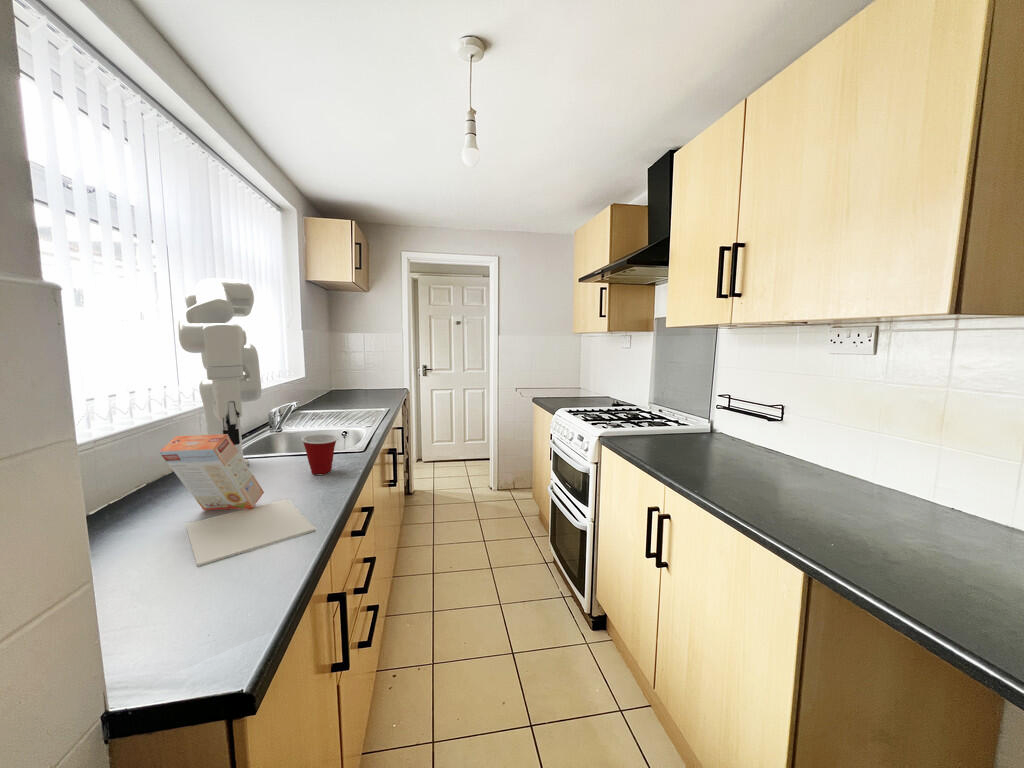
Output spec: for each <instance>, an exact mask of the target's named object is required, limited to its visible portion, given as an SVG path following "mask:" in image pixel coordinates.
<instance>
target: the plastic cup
mask: <svg viewBox="0 0 1024 768" xmlns="http://www.w3.org/2000/svg"><path fill="white" fill-rule="evenodd" d="M338 437H339V436H337V435H334V434H329V433H323V434H322V433H319V434H318V433H317V434H310V435H309V434H308V435H306V436H303V437H301V441H302V443H303V446H304V449H305V452H306V458H307V461H308V464H309V467H310V472H311V474H312V475H313V474H324V475H326V474H325V473H328V472H330V471H332V468H333V462H334V455H335V454H334V453H335V447H336V443H337V441H338V439H339V438H338ZM330 473H331V472H330ZM328 474H329V473H328Z"/></svg>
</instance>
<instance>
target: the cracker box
mask: <svg viewBox="0 0 1024 768" xmlns="http://www.w3.org/2000/svg"><path fill="white" fill-rule="evenodd" d="M158 452H159V454H160V455H161V457H162V458H163V459H164V460H165V462H166V463H167V464H168V466H169V468H171V470H172V471H173V472H174V474H175V475H176V476H177V478H178V479H179V481H181V483H182V484H183V485H184V486H185V488H186V489H187V490H188V492H189V493H190V494H191V496H192V497H193V498H194V499H195V501H196V502H197V503H198V505H199V506H200V507H201V509H202V510H203V511H211V510H212V511H214V510H215V511H217V510H219V511H220V510H221V511H222V510H244V509H252V508H253V507H256V505H257V503H258V502H259V500H260V499H261V497H262V496H263V495H264V493H265V492H264V491H263V489H262V487H261V485H260V483H259V481H257V479H256V477H255V475H254V474H253V473H252V471H251V469H250V468H249V467H248V465H247V464H246V463H245V461H244V460H243V459H244V457H243V458H242V456H241V455H240V453H239V452H238V450H237V448H236V447H235V445H234V444H233V442H232V440H231V439H230V437H229V436H228V434H219V435H207V434H205V435H204V434H203V435H202V434H201V435H179V436H174V437H173V438H172V439H171V440H170V441H169V442H168V443H167V444H166V445H165V446H164V447H162V448H161V449H160V451H158Z"/></svg>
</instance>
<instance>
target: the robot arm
mask: <svg viewBox="0 0 1024 768" xmlns="http://www.w3.org/2000/svg"><path fill="white" fill-rule="evenodd" d="M254 295H255V294H254V289H253V288H252V287H251V285H250V284H249V283H248V282H247V281H245V280H241V279H230V278H227V279H226V278H215V277H214V278H210V277H209V278H205V279H202V280H200V281H199V282H198V283H197V284H196V286H195V289H192V290H189V291H187V292H186V293H185V296H184V300H185V304H186V308H187V309H185V310H184V311H183V312H182V313H181V315H180V317H179V319H178V324H177V325H178V340H179V344H180V346H181V348H182V350H184V351H185V352H186V353H187V352H188V353H192V354H201V355H200V356H201V363H202V365H203V366H202V367H203V368H204V370H206V376H207V377H205V378H204V379H202V380H201V381H200V383H199V386H198V387H199V395H200V398H201V400H202V401H201V402H202V406H203V409H204V416H205V425H206V426H205V427H206V435H219V434H228V436H229V437H230V439H231V440H232V442H233V444H234V445H235V447H236V448H237V450H238V452H239V453H240V455H241V456H242V458H243V460H244V461H245V463H246V464H247V466H248V465H250V460H249V459H247V458H244V452H243V449H244V448H243V442H242V441H243V440H242V428H241V427H242V426H241V417H242V414H243V410H242V403H248V402H255V401H259V400H260V399H261V396H262V380H261V379H262V378H261V372H260V363H259V362H260V361H259V360H260V359H259V353H258V351H257V348H256V346H255V345H253V344H251V343H249V342H247V333H246V331H245V330H244V329H243V327H242V326H241V325H239V324H236V323H228V322H230V321H231V320H232V319H233V318H234V317H240V318H241V317H247V316H249V315H251V311H252V309H253V307H254V302H255V301H254V300H255V296H254Z"/></svg>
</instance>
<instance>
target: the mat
mask: <svg viewBox="0 0 1024 768" xmlns="http://www.w3.org/2000/svg"><path fill="white" fill-rule="evenodd" d="M185 528H186V531H187V535H188V539H189V542H190V546H191V548H192V552H193V555H194V560H195V562H196V563H195V564H196V567H197V566H198V567H201V566H200V565H202V566H205V565H208V564H211V563H215V562H217V560H218V561H220V559H221V560H224V559H227V558H226V557H228V558H230V556H231V557H233V556H232V555H234V556H237V555H236V554H238V555H241V554H243V553H244V554H245V553H247V552H251V551H254V550H256V549H260V548H263V547H267V546H270V545H274V544H277V543H279V542H283V541H287V540H289V538H290V539H293V538H296V537H300V536H303V535H305V534H309V533H313V532H316V527H315V526H314V525H313V524H312V523H311V522H310V521H309V520H308V519H307V518H306V517H305V516H304V514H302V512H300V511H299V510H298V509H297V507H295V505H294V504H293V503H292V502H290V500H289V499H288V498H286V499H281V500H278V501H274V502H269V503H265V504H260V505H257V506H254V507H253V508H252V509H239V510H237V511H233V512H229V513H226V514H221V515H220V514H219V515H217V516H212V517H209V518H204V519H200V520H197V521H192V522H188V523H186V524H185ZM286 539H287V540H286ZM273 543H274V544H273ZM240 553H241V554H240ZM214 561H215V562H214ZM204 564H205V565H204Z"/></svg>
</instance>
